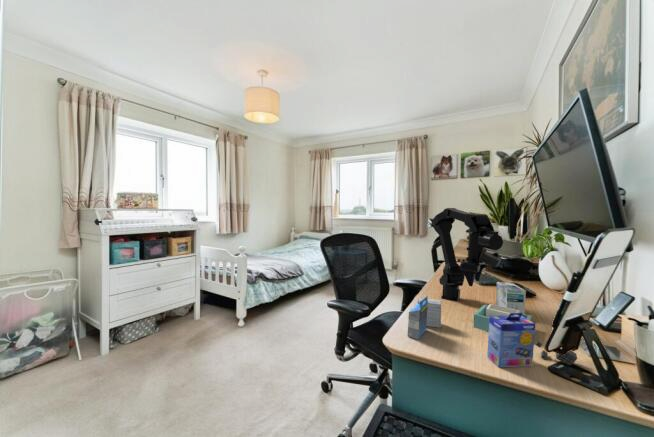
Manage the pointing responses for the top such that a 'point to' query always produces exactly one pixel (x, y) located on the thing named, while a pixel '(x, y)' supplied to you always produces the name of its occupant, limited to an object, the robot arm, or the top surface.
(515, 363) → the ink cartridge box
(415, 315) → the label tape box
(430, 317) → the medicine box
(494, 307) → the small crate
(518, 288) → the light bulb box
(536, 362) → the top surface
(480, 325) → the box
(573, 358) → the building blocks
